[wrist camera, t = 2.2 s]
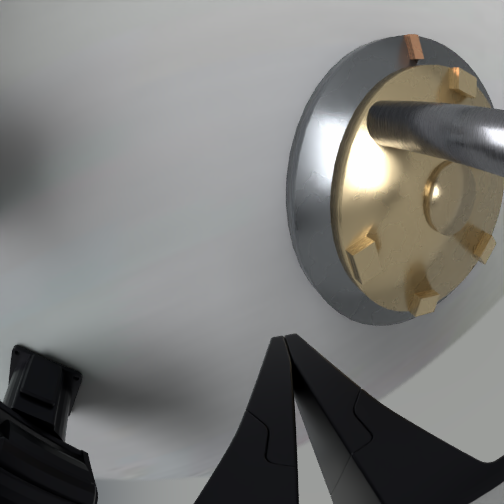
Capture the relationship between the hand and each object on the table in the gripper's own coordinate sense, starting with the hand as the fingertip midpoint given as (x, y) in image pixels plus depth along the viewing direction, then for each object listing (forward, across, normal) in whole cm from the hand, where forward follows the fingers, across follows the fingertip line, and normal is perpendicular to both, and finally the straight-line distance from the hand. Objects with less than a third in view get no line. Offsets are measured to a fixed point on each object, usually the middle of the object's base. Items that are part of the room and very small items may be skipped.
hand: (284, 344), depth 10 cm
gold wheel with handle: (+14, +15, -1) cm, 21 cm away
